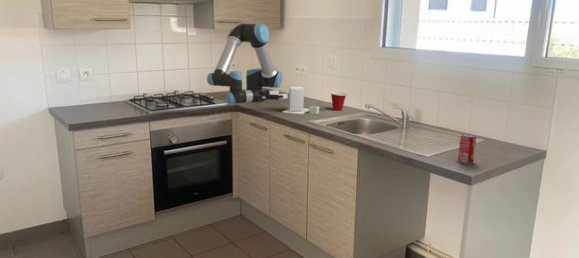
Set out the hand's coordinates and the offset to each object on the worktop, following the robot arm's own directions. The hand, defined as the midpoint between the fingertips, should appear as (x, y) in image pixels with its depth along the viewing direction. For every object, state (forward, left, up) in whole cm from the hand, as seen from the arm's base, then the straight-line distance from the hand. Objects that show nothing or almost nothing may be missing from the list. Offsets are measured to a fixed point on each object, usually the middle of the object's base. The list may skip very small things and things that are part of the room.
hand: (282, 94), depth 280 cm
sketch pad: (-7, +7, -12) cm, 16 cm away
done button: (-6, +19, -12) cm, 23 cm away
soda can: (+62, +109, -12) cm, 126 cm away
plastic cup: (-22, +31, -12) cm, 40 cm away
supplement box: (-7, +7, -11) cm, 15 cm away
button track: (-9, +19, -12) cm, 25 cm away
